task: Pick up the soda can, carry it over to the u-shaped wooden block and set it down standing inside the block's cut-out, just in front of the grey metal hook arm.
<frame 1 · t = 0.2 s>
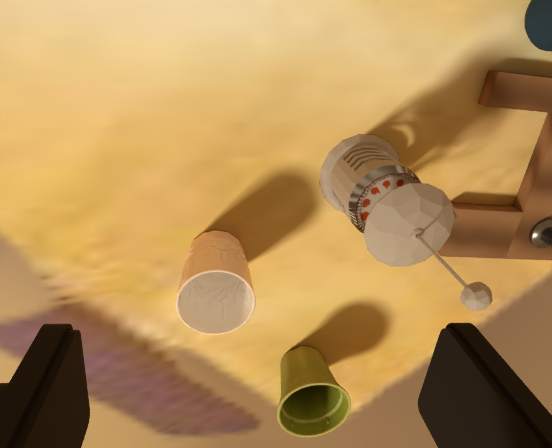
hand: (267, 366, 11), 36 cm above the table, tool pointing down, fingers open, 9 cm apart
soda can: (548, 14, 44), on the table
plant pot: (301, 360, 60), on the table
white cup: (216, 253, 51), on the table
hook post: (533, 225, 55), resting on u-shaped wooden block
u-shaped wooden block: (518, 172, 51), on the table
french press: (367, 176, 49), on the table
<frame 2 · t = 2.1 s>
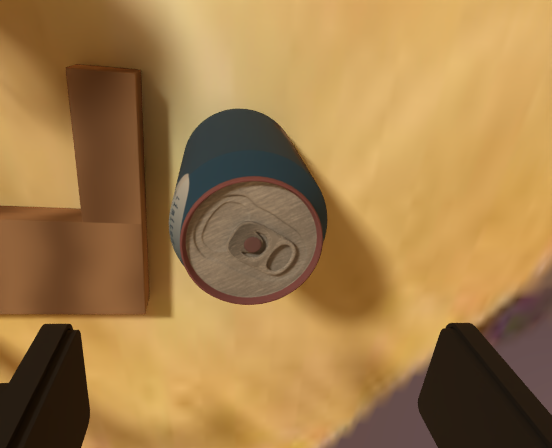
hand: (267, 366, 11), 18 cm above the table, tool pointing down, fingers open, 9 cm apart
soda can: (238, 157, 28), on the table
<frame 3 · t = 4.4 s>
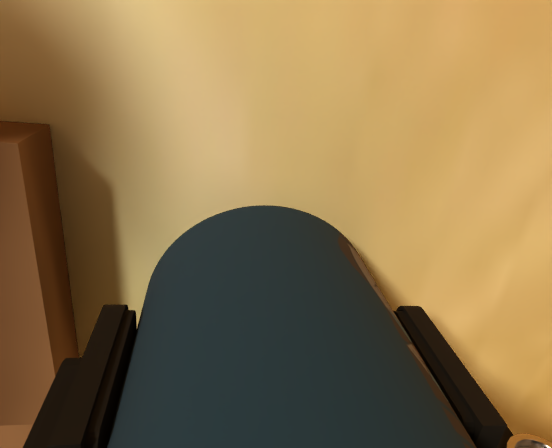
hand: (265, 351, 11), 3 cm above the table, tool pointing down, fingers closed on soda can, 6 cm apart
soda can: (256, 280, 14), on the table, touching gripper
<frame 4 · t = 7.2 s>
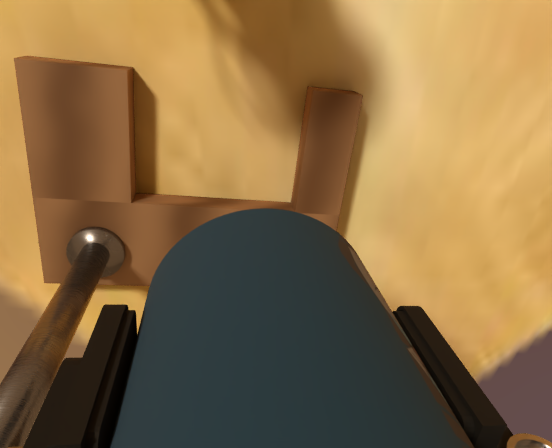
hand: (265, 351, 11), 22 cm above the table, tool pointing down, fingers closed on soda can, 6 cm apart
soda can: (256, 282, 15), point 18 cm above the table, touching gripper
hook post: (104, 238, 33), resting on u-shaped wooden block
u-shaped wooden block: (196, 184, 32), on the table
when the fingers open (5 cm above the table, at t = 10.2 s): soda can drops 2 cm, on the table.
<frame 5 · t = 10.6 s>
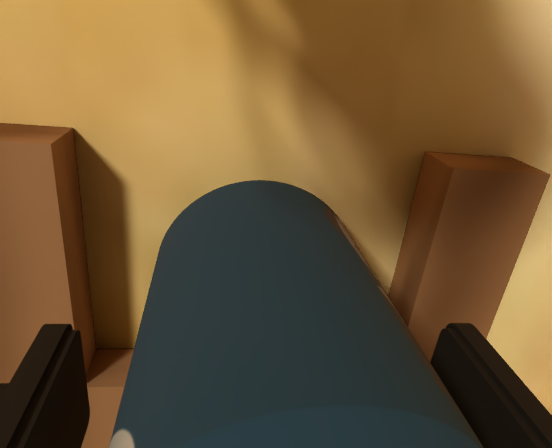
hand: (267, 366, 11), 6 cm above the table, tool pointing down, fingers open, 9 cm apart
soda can: (253, 252, 16), on the table
u-shaped wooden block: (208, 329, 17), on the table
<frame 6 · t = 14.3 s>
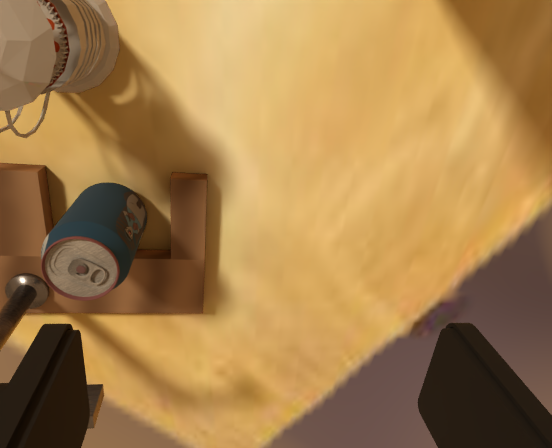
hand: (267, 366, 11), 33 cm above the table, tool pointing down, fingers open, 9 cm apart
soda can: (114, 209, 43), on the table
hook post: (36, 279, 45), resting on u-shaped wooden block
u-shaped wooden block: (100, 240, 44), on the table
french press: (60, 45, 36), on the table
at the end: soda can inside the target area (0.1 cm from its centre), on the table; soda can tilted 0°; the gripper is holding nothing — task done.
